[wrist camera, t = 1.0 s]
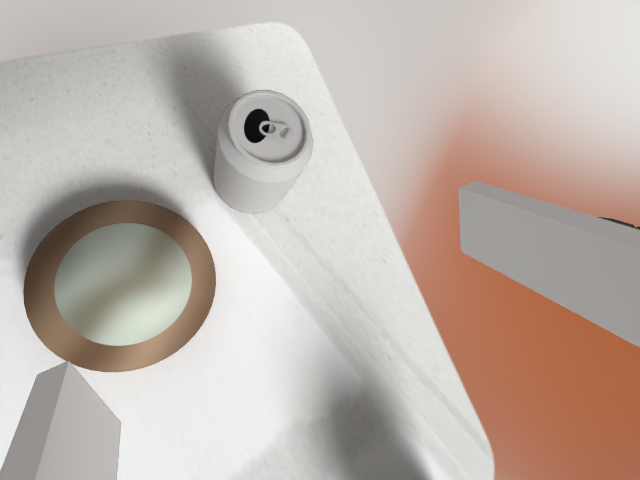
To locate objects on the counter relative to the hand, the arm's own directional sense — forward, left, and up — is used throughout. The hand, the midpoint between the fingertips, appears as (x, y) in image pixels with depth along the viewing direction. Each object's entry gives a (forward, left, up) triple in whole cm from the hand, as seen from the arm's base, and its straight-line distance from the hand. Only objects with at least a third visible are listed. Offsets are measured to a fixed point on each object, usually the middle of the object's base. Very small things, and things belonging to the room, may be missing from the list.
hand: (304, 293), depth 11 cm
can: (-4, +12, -25) cm, 28 cm away
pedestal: (-9, -2, -24) cm, 26 cm away
